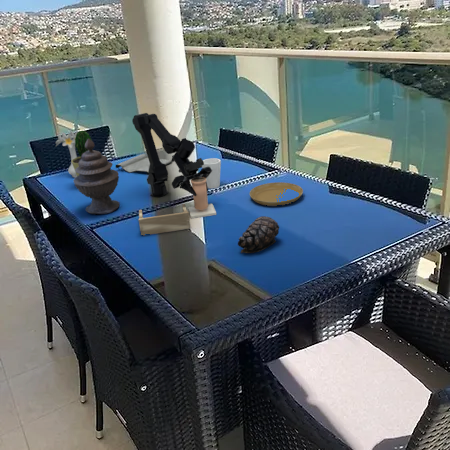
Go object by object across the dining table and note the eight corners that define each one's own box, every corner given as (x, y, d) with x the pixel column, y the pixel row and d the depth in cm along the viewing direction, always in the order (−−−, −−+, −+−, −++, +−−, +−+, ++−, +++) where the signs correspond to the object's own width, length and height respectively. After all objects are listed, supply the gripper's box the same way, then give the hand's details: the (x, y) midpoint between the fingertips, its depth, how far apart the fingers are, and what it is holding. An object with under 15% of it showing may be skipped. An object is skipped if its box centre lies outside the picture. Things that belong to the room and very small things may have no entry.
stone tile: (188, 209, 214) (188, 206, 214) (212, 205, 216) (212, 203, 215) (191, 218, 205) (190, 216, 204) (216, 214, 206) (216, 212, 206)
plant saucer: (267, 213, 204) (267, 205, 203) (240, 196, 224) (239, 190, 222) (313, 199, 213) (313, 192, 212) (283, 185, 233) (283, 178, 232)
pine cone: (234, 252, 173) (232, 227, 169) (261, 233, 186) (259, 209, 182) (258, 259, 167) (257, 233, 163) (284, 239, 180) (283, 214, 176)
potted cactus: (71, 189, 251) (58, 133, 239) (89, 180, 264) (77, 125, 252) (95, 191, 246) (83, 134, 233) (112, 181, 258) (102, 126, 246)
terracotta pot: (193, 210, 206) (190, 182, 201) (194, 204, 212) (191, 177, 207) (208, 209, 206) (206, 181, 201) (209, 203, 212) (206, 176, 207)
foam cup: (220, 189, 234) (218, 164, 228) (201, 189, 236) (199, 164, 230) (224, 183, 242) (222, 158, 237) (206, 183, 244) (204, 158, 239)
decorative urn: (109, 196, 236) (95, 128, 219) (133, 207, 223) (120, 136, 206) (73, 211, 224) (55, 140, 207) (95, 224, 211) (79, 150, 194)
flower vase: (98, 172, 275) (90, 129, 265) (69, 182, 263) (59, 137, 253) (86, 169, 283) (78, 127, 273) (58, 178, 272) (48, 134, 262)
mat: (148, 176, 264) (147, 168, 262) (116, 172, 275) (114, 164, 273) (173, 163, 281) (172, 155, 280) (142, 160, 293) (140, 152, 291)
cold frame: (140, 218, 209) (137, 203, 206) (185, 212, 212) (184, 197, 209) (141, 235, 193) (138, 219, 190) (190, 228, 195) (188, 212, 192)
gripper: (172, 159, 197) (190, 190, 194) (207, 148, 208) (225, 177, 204) (163, 173, 206) (181, 203, 203) (198, 162, 217) (215, 190, 213)
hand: (201, 193), depth 206 cm, fingers closed on terracotta pot, 6 cm apart
